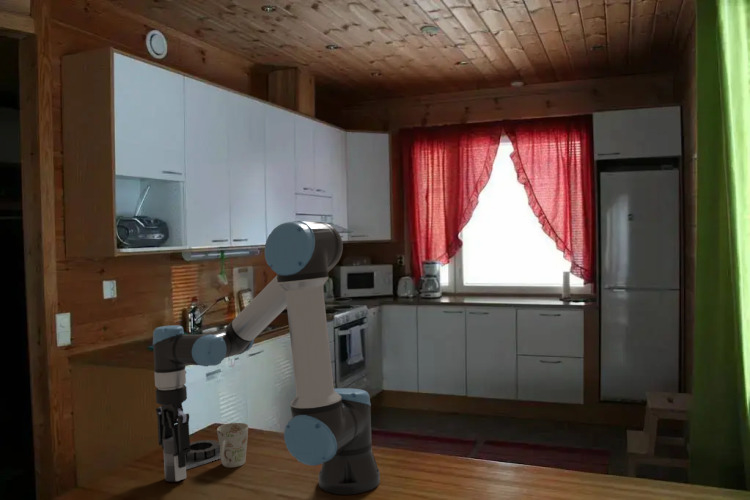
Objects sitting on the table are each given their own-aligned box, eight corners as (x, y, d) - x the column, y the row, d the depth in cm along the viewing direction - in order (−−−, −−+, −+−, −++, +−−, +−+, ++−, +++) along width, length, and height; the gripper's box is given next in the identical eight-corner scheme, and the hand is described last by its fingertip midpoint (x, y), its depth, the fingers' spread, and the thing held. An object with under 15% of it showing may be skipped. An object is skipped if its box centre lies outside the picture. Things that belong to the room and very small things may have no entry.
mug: (253, 458, 171) (252, 422, 171) (239, 475, 158) (237, 437, 158) (224, 458, 172) (223, 422, 171) (207, 475, 159) (206, 437, 159)
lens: (189, 477, 157) (187, 438, 157) (170, 483, 153) (168, 443, 153) (180, 472, 160) (178, 434, 160) (161, 478, 157) (159, 439, 157)
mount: (236, 453, 175) (236, 443, 175) (185, 470, 163) (184, 459, 163) (215, 444, 183) (214, 434, 183) (164, 459, 172) (164, 449, 172)
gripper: (202, 388, 153) (206, 480, 153) (168, 379, 166) (172, 464, 166) (173, 394, 147) (178, 490, 148) (141, 384, 160) (145, 472, 161)
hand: (175, 476), depth 157 cm, fingers closed on lens, 5 cm apart
